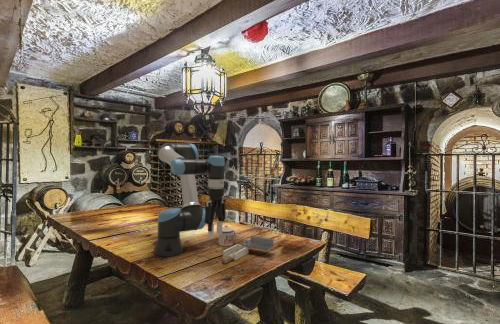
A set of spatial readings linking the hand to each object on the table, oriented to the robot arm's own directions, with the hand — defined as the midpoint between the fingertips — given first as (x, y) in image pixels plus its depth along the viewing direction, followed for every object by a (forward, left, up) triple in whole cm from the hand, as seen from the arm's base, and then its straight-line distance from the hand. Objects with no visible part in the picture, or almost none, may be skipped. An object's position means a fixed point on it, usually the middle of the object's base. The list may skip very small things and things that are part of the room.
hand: (215, 236), depth 132 cm
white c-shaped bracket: (0, +21, -15) cm, 26 cm away
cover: (+8, +28, -11) cm, 31 cm away
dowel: (0, +10, -15) cm, 18 cm away
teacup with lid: (-15, +33, -15) cm, 40 cm away
